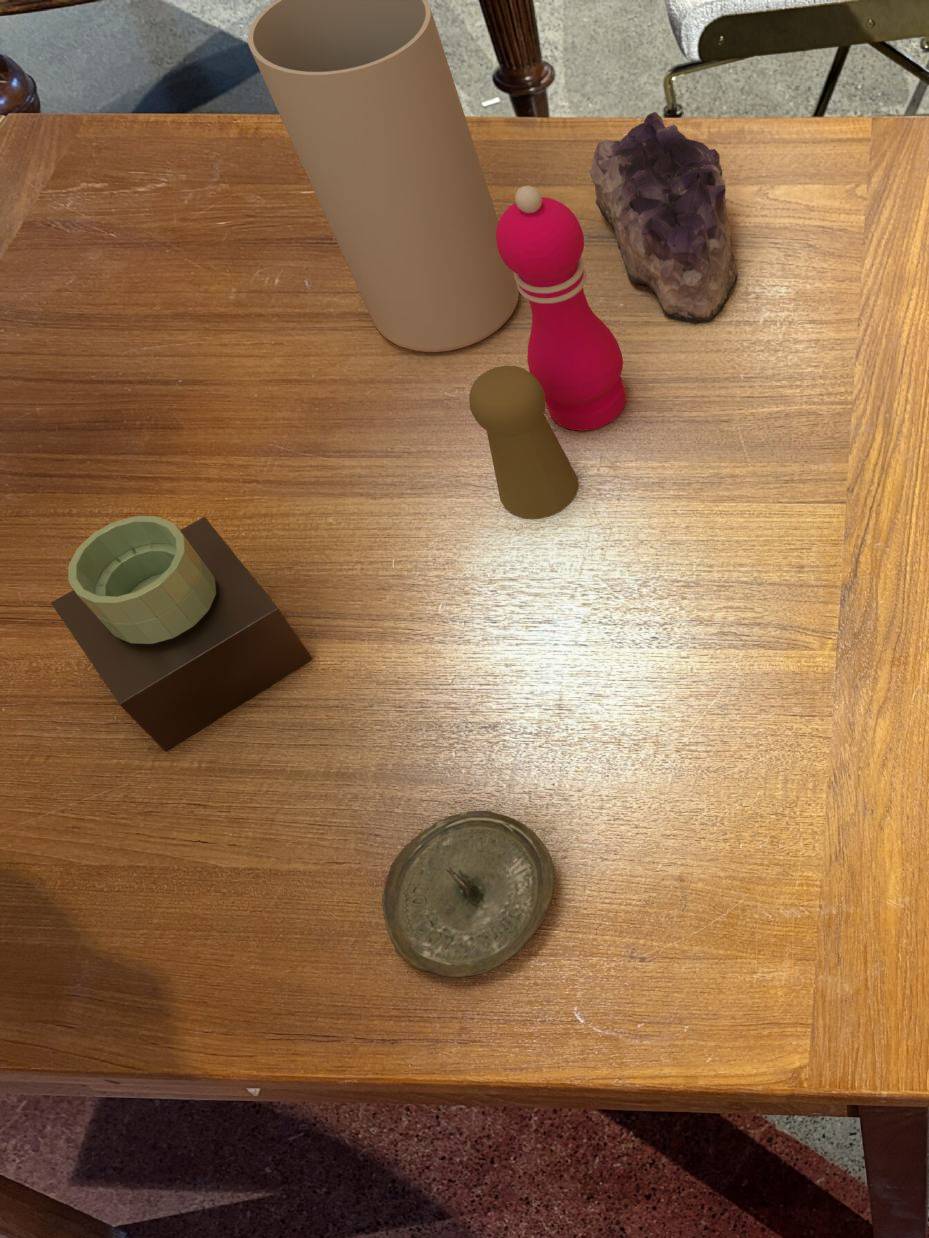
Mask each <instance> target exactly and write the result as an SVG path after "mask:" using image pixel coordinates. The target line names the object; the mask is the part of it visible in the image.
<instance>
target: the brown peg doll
mask: <svg viewBox="0 0 929 1238" xmlns="http://www.w3.org/2000/svg"><path fill="white" fill-rule="evenodd" d="M468 400H469V409H470V412H471V414H472V416H473V418H474V420H475V421H476V422H477V424H478V425H479V426H480V427H481V428H482V429H484V430H485V431H486V435H487V440H488V446H489V451H490V454H491V460H492V464H493V470H494V475H495V481H496V485H497V490H498V496H499V500H500V503H501V504H502V506H503V508H504V509H505V510H506V511H507V512H509V513H510V514H512V515H513V516H516V517H519V518H522V519H531V520H532V519H533V520H535V519H536V520H539V519H542V518H547V517H550V516H553V515H555V514H557V513H560V512H561V511H563V510H564V509H566V508H567V507H568V506H569V505H571V503H572V502H573V500H574V499H575V497H576V496H577V494H578V491H579V486H580V484H579V478H578V475H577V474H576V472H575V469H574V468H573V466H572V464H571V462H570V460H569V458H568V457H567V455H566V453H565V451H564V449H563V447H562V446H561V443H560V441H559V440H558V437H557V435H556V434H555V432H554V430H553V428H552V426H551V424H550V423H549V421H548V419H547V417H546V415H545V410H546V401H545V394H544V391H543V387H542V386H541V384H540V383H539V381H538V380H537V379H536V377H535V376H534V375H533V374H531V373H530V372H529V370H527V369H525V368H523V367H521V366H520V367H519V366H517V365H500V366H496V367H492V368H491V369H488V370H485V372H483V373H482V374H480V375H479V376H478V377H476V379H475V380H474V381H473V384H472V386H471V389H470V391H469V394H468Z"/></svg>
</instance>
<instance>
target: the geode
mask: <svg viewBox="0 0 929 1238" xmlns="http://www.w3.org/2000/svg"><path fill="white" fill-rule="evenodd" d="M720 156H721V155H720V153H719V152H718V151H717V150H716V148H712V149H710V148H709V146H707V145H706V144H705V143H703V142H701V141H698V140H693V139H689V138H688V137H687V136H686V135H685V134H683V133H682V132H681V131H679V128H678V126H676V124H671V125H669V126H665V123H664V120H663V118H662V116H661V115H659V113H658V112H657V111H652V112H651V113H649V114H647V115H646V117H645V119H644V121H643V122H642V123H639V124H637V125H635V126H633V127H632V128H631V129H630V130H629V131H628V133H627V134H626V135H624V136H623V137H622V139H620V140H604V141H601V142H599V143H598V144H597V145H596V148H595V151H594V153H593V159H592V163H591V169H589V173H590V177H591V180H592V183H593V185H594V191H595V196H596V197H595V204H596V206H597V207H598V209H599V211H600V214H601V216H602V217H603V218H604V220H606V222H608V224H609V225H610V226H611V227H612V229H614V235H615V238H616V242H617V248H618V249H619V251H620V253H621V257H622V260H623V263H624V266H625V271H626V274H627V277H628V279H629V281H630V282H632V283H635V284H638V285H643V286H644V285H645V286H647V287H649V289H650V290H651V291H652V292H653V293H654V294H655V296H656V297H657V300H658V303H659V306H660V307H661V310H662V312H663V313H664V315H665V316H666V317H667V319H672V320H677V321H681V322H686V323H692V324H697V323H709V322H711V321H713V320H714V319H715V318H716V317H717V316H718V315H719V314H720V313H721V311H722V310H723V308H724V307H725V305H726V303H728V300H729V298H730V296H731V294H732V292H733V290H734V289H735V287H736V285H737V281H738V275H739V273H738V270H737V267H736V263H735V253H734V249H733V246H732V245H731V234H732V230H731V225H730V223H729V221H728V214H729V212H728V209H727V207H726V203H727V199H726V189H727V188H726V187H727V186H726V183H725V179H724V178H723V173H724V172H723V168H722V165H721V163H720V161H721V159H720V158H721V157H720Z"/></svg>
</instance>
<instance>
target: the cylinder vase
mask: <svg viewBox="0 0 929 1238" xmlns="http://www.w3.org/2000/svg"><path fill="white" fill-rule="evenodd" d="M247 44H248V47H249V49H250V50H249V51H250V52H251V55H252V56H253V59H254V60H255V64H256V65H257V67H258V69H259V71H260V74H261V76H262V78H263V81H264V83H265V86H266V87H267V90H268V92H269V94H270V97H271V98H272V100H273V102H274V105H275V107H276V110H277V112H278V114H279V116H280V118H281V121H282V123H283V126H284V128H285V129H286V131H287V134H288V136H289V139H290V141H291V143H292V145H293V147H294V149H295V152H296V154H297V156H298V158H299V160H300V163H301V165H302V167H303V170H304V172H305V174H306V176H307V179H308V181H309V183H310V185H311V187H312V189H313V191H314V193H315V197H316V198H317V200H318V203H319V205H320V207H321V210H322V212H323V214H324V216H325V218H326V220H327V223H328V225H329V227H330V229H331V232H332V235H333V236H334V238H335V240H336V243H337V246H338V247H339V250H340V251H341V254H342V256H343V258H344V260H345V263H346V265H347V267H348V270H349V271H350V274H351V276H352V278H353V281H354V283H355V285H356V287H357V289H358V292H359V294H360V296H361V298H362V300H363V303H364V305H365V307H366V309H367V311H368V314H369V316H370V318H371V320H372V322H373V325H374V326H375V328H376V329H377V331H378V332H379V334H380V335H382V336H383V337H384V338H385V339H387V340H388V341H389V342H391V343H393V344H394V345H397V346H399V347H402V348H404V349H408V350H411V351H417V352H424V353H442V352H450V351H455V350H459V349H463V348H466V347H469V346H472V345H475V344H477V343H479V342H481V341H483V340H485V339H487V338H488V337H490V336H492V335H493V334H494V333H496V332H497V331H498V330H500V329H501V328H502V326H504V325H505V324H506V322H507V321H509V319H510V318H511V316H512V315H513V313H514V311H515V310H516V308H517V304H518V301H519V296H520V292H519V290H518V288H517V282H516V280H515V278H514V272H513V271H512V270H511V269H509V268H508V266H507V265H506V264H505V263H504V261H503V260H502V258H501V256H500V254H499V252H498V248H497V242H496V229H497V224H498V222H499V218H498V215H497V212H496V209H495V206H494V202H493V200H492V196H491V193H490V189H489V187H488V183H487V180H486V177H485V173H484V171H483V168H482V164H481V162H480V159H479V155H478V152H477V150H476V145H475V143H474V140H473V137H472V134H471V131H470V127H469V124H468V121H467V118H466V115H465V112H464V109H463V105H462V102H461V99H460V96H459V94H458V93H459V92H458V90H457V87H456V83H455V80H454V77H453V74H452V71H451V68H450V65H449V62H448V58H447V56H446V52H445V49H444V46H443V43H442V40H441V36H440V34H439V30H438V27H437V24H436V21H435V18H434V14H433V12H432V8H431V5H430V3H429V0H274V1H273V2H272V3H270V4H269V5H268V6H267V7H265V8H264V9H263V10H262V11H261V12H260V13H259V14H258V15H257V16H256V18H255V19H254V20H253V22H252V24H251V25H250V27H249V30H248V34H247Z"/></svg>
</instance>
